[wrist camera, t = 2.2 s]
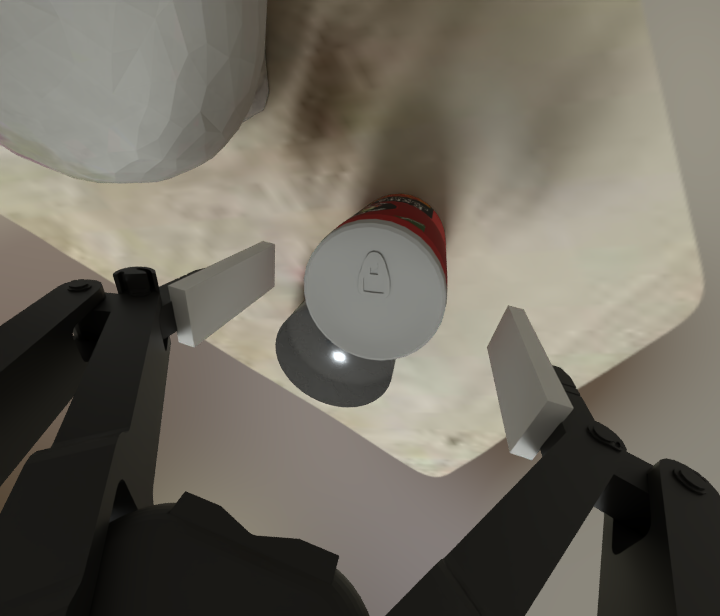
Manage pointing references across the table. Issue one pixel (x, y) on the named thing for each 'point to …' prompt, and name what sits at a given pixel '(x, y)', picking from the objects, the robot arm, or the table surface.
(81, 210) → the table surface
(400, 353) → the canned food
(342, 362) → the pedestal
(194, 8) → the ceramic pitcher
